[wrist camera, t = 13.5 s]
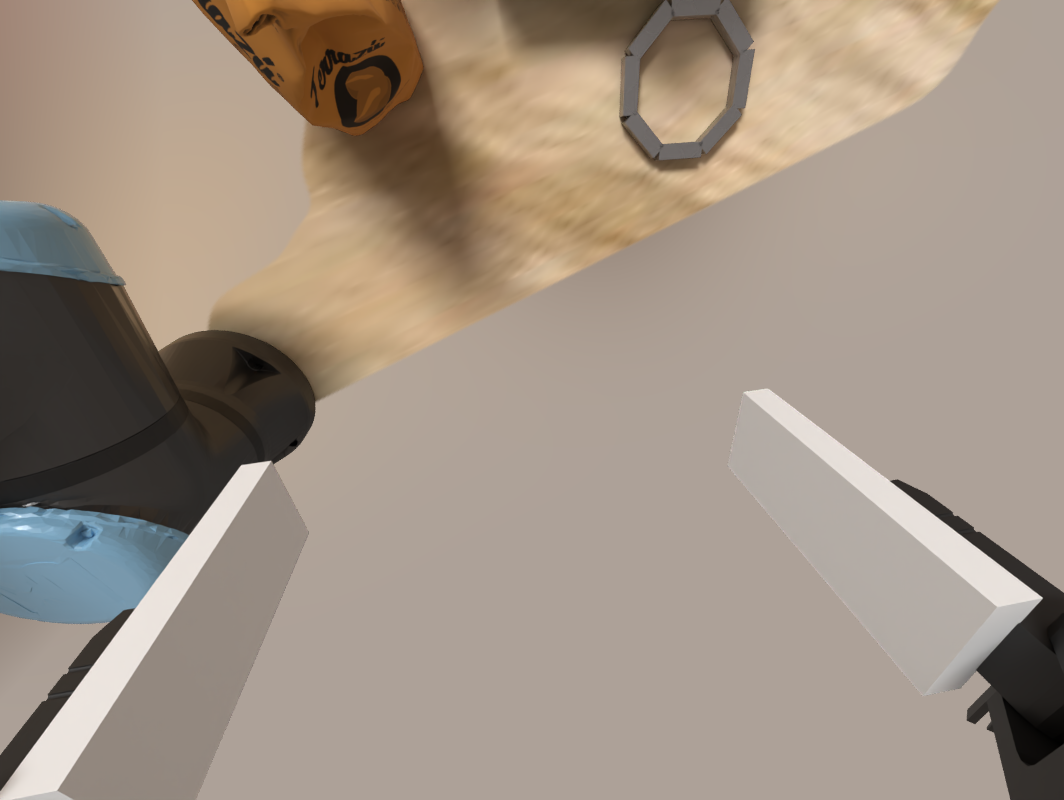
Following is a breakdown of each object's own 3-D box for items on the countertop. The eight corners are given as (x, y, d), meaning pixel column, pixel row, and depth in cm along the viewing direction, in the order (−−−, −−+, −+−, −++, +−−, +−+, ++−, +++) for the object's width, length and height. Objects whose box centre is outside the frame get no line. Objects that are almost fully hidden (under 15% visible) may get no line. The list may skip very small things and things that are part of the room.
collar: (617, 163, 37) (621, 163, 36) (623, 1, 32) (628, -3, 31) (731, 154, 38) (737, 154, 37) (756, -5, 33) (764, -9, 32)
